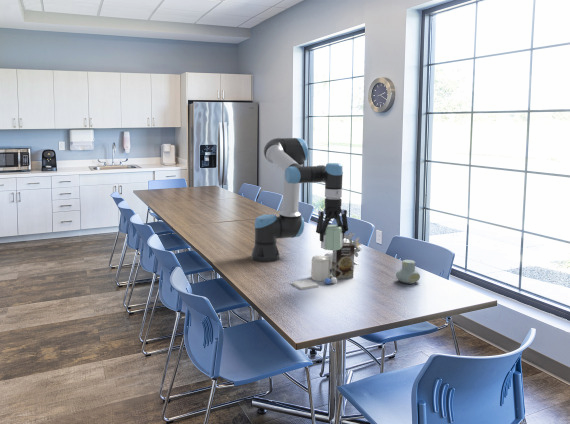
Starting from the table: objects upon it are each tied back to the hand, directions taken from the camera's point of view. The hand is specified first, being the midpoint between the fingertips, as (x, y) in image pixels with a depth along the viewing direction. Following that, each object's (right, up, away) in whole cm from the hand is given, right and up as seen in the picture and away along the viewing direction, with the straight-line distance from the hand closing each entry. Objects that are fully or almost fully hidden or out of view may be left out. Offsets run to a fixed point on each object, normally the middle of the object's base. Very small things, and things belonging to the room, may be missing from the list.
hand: (331, 247), depth 237 cm
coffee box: (+6, -15, +14) cm, 22 cm away
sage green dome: (0, 0, 0) cm, 0 cm away
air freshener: (+36, -17, +8) cm, 41 cm away
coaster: (-12, -17, 0) cm, 21 cm away
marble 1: (-2, -17, +2) cm, 17 cm away
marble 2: (+1, -17, +4) cm, 17 cm away
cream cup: (-4, -15, +11) cm, 20 cm away
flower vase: (+8, -12, +32) cm, 35 cm away
